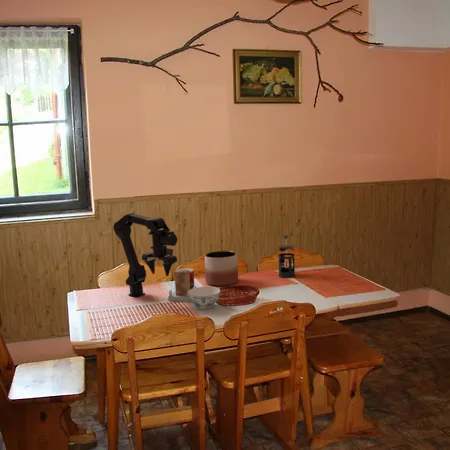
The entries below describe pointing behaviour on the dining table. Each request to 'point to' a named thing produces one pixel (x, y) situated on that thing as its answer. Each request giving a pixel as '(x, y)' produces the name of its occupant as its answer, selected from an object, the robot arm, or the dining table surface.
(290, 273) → the french press
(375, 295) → the dining table surface
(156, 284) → the dining table surface
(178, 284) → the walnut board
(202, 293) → the chinaware
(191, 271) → the canned food
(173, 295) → the peg seat
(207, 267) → the planter
